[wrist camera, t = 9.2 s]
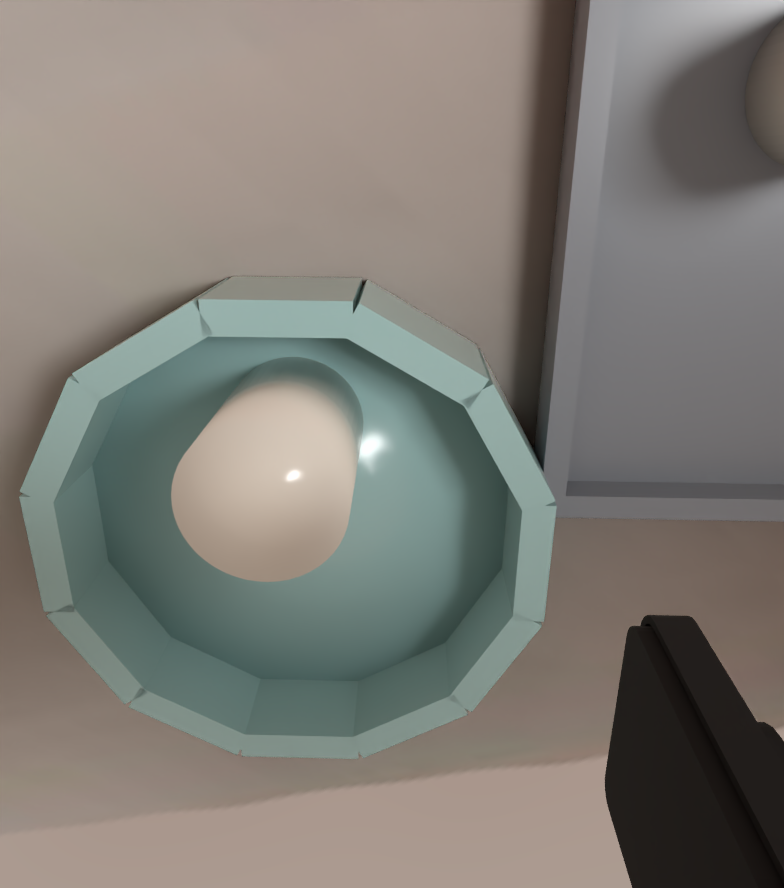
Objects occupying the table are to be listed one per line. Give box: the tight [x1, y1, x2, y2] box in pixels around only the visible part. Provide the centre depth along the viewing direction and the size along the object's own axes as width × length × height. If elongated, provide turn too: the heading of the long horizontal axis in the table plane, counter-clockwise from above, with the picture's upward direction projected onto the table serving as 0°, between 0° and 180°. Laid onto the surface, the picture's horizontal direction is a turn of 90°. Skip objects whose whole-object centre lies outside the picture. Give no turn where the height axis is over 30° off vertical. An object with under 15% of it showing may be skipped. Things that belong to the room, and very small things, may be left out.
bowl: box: [19, 276, 557, 759], centre depth 23 cm, size 16×16×4 cm
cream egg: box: [171, 357, 364, 582], centre depth 20 cm, size 4×4×6 cm
